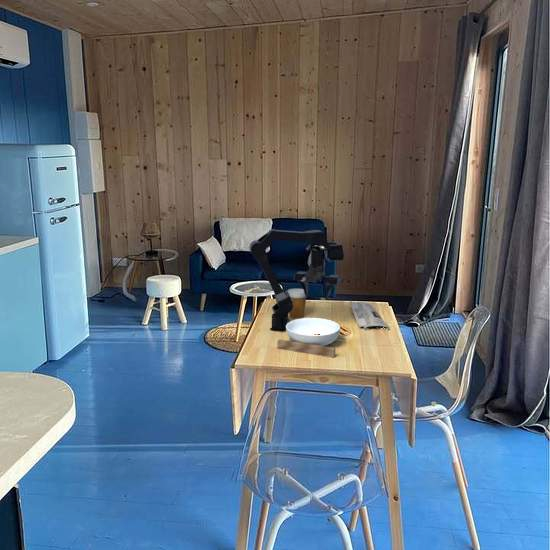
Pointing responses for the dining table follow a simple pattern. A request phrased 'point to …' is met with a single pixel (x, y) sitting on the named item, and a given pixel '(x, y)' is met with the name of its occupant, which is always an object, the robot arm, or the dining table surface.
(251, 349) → the dining table surface
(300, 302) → the disposable coffee cup
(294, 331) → the serving bowl
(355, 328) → the dining table surface
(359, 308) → the newspaper
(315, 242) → the robot arm
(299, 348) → the walnut bar
